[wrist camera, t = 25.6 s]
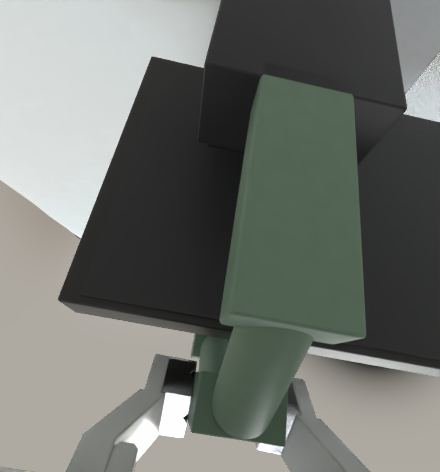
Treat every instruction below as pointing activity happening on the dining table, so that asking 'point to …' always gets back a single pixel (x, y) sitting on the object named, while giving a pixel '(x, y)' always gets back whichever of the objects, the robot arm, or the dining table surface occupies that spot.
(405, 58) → the monitor
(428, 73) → the dining table surface
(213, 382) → the headphones
